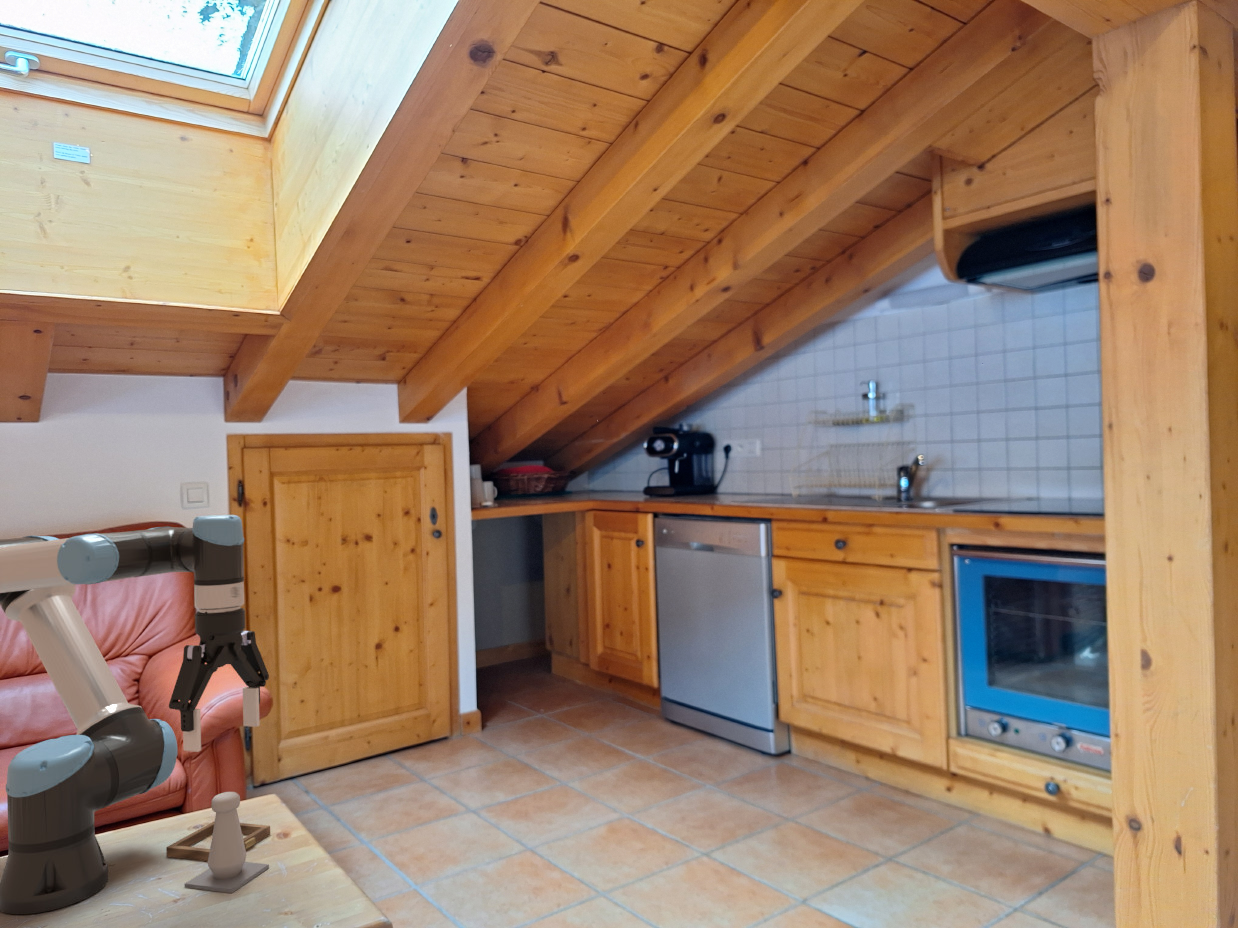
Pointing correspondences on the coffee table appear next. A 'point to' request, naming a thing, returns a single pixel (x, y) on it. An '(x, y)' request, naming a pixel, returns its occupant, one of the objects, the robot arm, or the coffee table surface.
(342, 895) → the coffee table surface
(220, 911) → the coffee table surface
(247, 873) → the coaster
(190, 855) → the brown wooden frame
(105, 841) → the coffee table surface
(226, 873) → the salt shaker
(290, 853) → the coffee table surface
